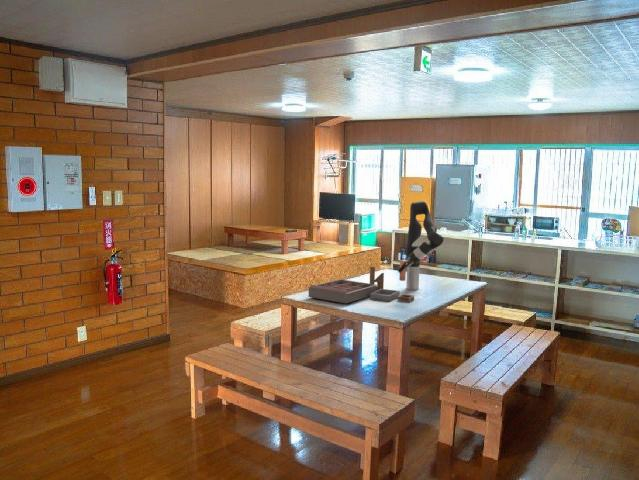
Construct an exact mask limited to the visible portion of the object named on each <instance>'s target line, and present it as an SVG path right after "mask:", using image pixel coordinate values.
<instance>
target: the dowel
mask: <svg viewBox="0 0 639 480" xmlns="http://www.w3.org/2000/svg"><path fill="white" fill-rule="evenodd" d="M406 261H407V260H399V269H400V268H401V266H402V265H403V264H404V263H405V262H406ZM403 267H404V266H403ZM406 279H407V268H405V269H404V270H403V271H402V272H400V273H399V281H401V282H402V281H403V282H404V281H406Z"/></svg>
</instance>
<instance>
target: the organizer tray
mask: <svg viewBox="0 0 639 480" xmlns="http://www.w3.org/2000/svg"><path fill="white" fill-rule="evenodd" d="M376 286H377V283H375V284H370V282H369V283H367V282H360V281H354V280H347V279H336V280H332V281H329V282H323V283H320V284H309V286H308V287H307V288H308V297H309V298H312V299H313V298H314V299H320V300H323V301H328V302H330V301H331V302H336V303H342V304H348V303H349V304H350V303H352V302H355V301H359V300H362V299H364V298H369V297H370V294H371V293H373V292H375V291H376Z"/></svg>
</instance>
